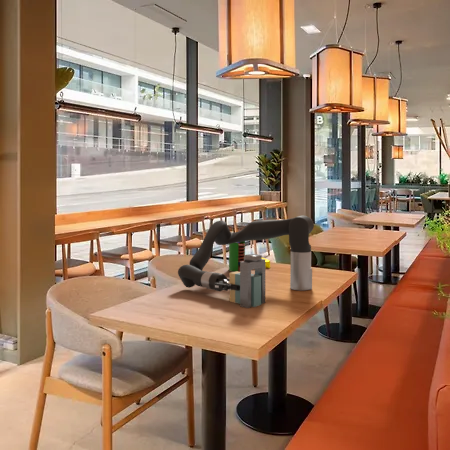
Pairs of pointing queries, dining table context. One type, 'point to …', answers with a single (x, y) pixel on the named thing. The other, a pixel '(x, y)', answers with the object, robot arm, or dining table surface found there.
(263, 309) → the dining table surface
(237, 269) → the motor
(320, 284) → the dining table surface
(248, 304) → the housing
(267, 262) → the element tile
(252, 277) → the sage green rectangular prism
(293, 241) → the robot arm
